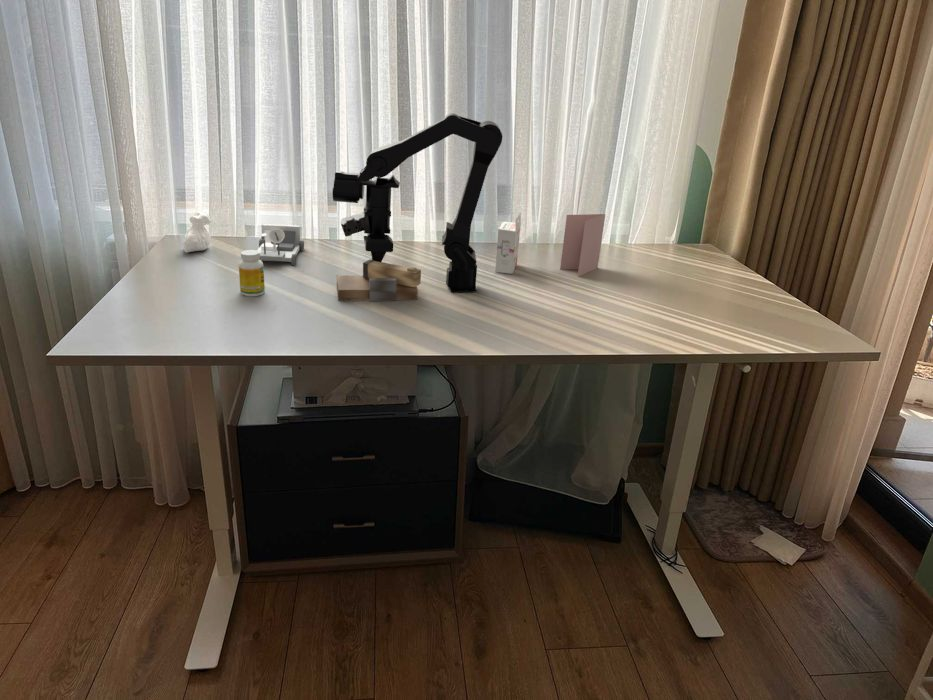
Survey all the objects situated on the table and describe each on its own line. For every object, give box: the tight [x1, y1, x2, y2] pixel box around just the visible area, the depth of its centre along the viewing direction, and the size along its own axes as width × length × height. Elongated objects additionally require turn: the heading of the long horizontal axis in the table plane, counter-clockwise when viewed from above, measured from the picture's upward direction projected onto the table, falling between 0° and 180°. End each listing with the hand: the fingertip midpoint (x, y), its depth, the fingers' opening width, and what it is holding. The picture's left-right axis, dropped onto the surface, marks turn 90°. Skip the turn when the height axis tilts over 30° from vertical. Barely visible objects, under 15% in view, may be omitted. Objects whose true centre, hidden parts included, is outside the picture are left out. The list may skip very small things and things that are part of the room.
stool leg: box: [362, 259, 422, 287], centre depth 167 cm, size 14×3×4 cm, turn 69°
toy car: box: [256, 223, 305, 266], centre depth 185 cm, size 18×10×12 cm
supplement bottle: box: [238, 249, 265, 297], centre depth 160 cm, size 5×5×10 cm
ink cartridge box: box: [494, 212, 522, 275], centre depth 187 cm, size 9×5×15 cm, turn 168°
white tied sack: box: [182, 210, 212, 253], centre depth 187 cm, size 12×8×11 cm
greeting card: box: [559, 213, 606, 277], centre depth 189 cm, size 11×7×15 cm, turn 108°
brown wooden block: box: [336, 275, 419, 302], centre depth 166 cm, size 18×11×5 cm, turn 102°
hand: (375, 268), depth 172 cm, fingers closed
